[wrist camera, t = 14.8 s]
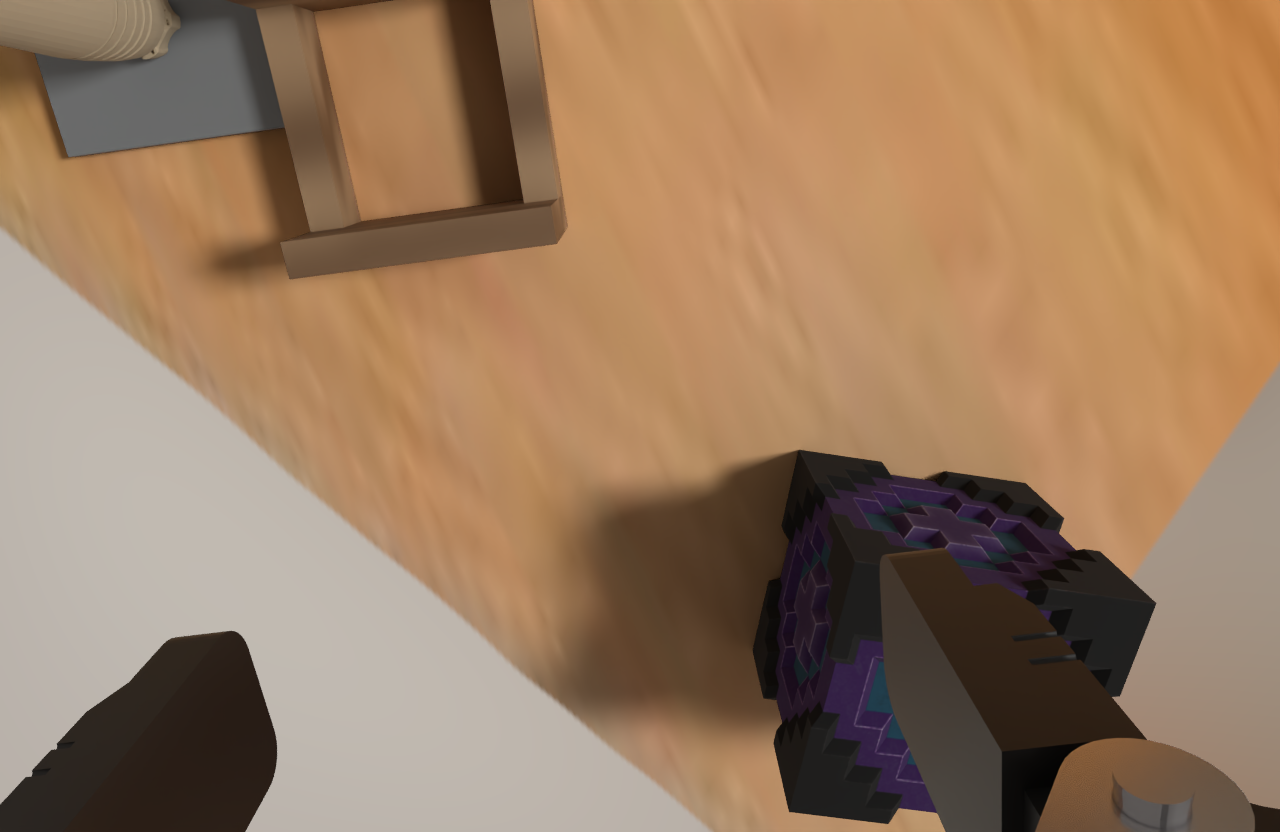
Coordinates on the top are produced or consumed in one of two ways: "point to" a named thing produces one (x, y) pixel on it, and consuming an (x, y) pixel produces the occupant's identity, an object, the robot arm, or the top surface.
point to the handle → (89, 28)
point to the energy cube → (852, 621)
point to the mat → (169, 86)
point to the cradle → (326, 173)
